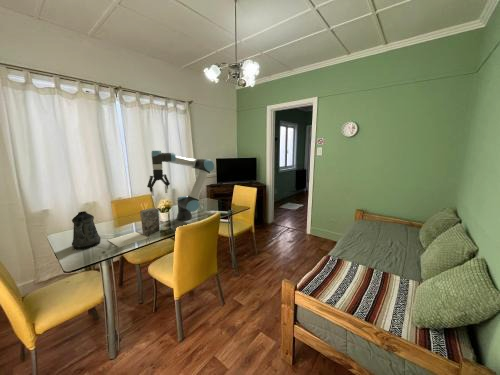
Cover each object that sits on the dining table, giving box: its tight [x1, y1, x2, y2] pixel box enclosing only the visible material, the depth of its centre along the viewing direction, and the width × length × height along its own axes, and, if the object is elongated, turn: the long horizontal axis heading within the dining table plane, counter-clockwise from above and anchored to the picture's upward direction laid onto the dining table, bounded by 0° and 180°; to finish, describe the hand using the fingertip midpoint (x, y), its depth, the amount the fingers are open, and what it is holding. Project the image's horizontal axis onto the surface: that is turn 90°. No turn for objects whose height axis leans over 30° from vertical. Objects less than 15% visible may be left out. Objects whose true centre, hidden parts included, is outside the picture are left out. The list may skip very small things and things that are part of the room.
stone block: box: [139, 207, 160, 236], centre depth 175 cm, size 13×7×20 cm, turn 147°
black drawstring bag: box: [71, 210, 102, 251], centre depth 149 cm, size 16×19×25 cm
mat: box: [107, 231, 150, 249], centre depth 162 cm, size 22×20×1 cm
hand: (159, 194), depth 179 cm, fingers open, 12 cm apart
